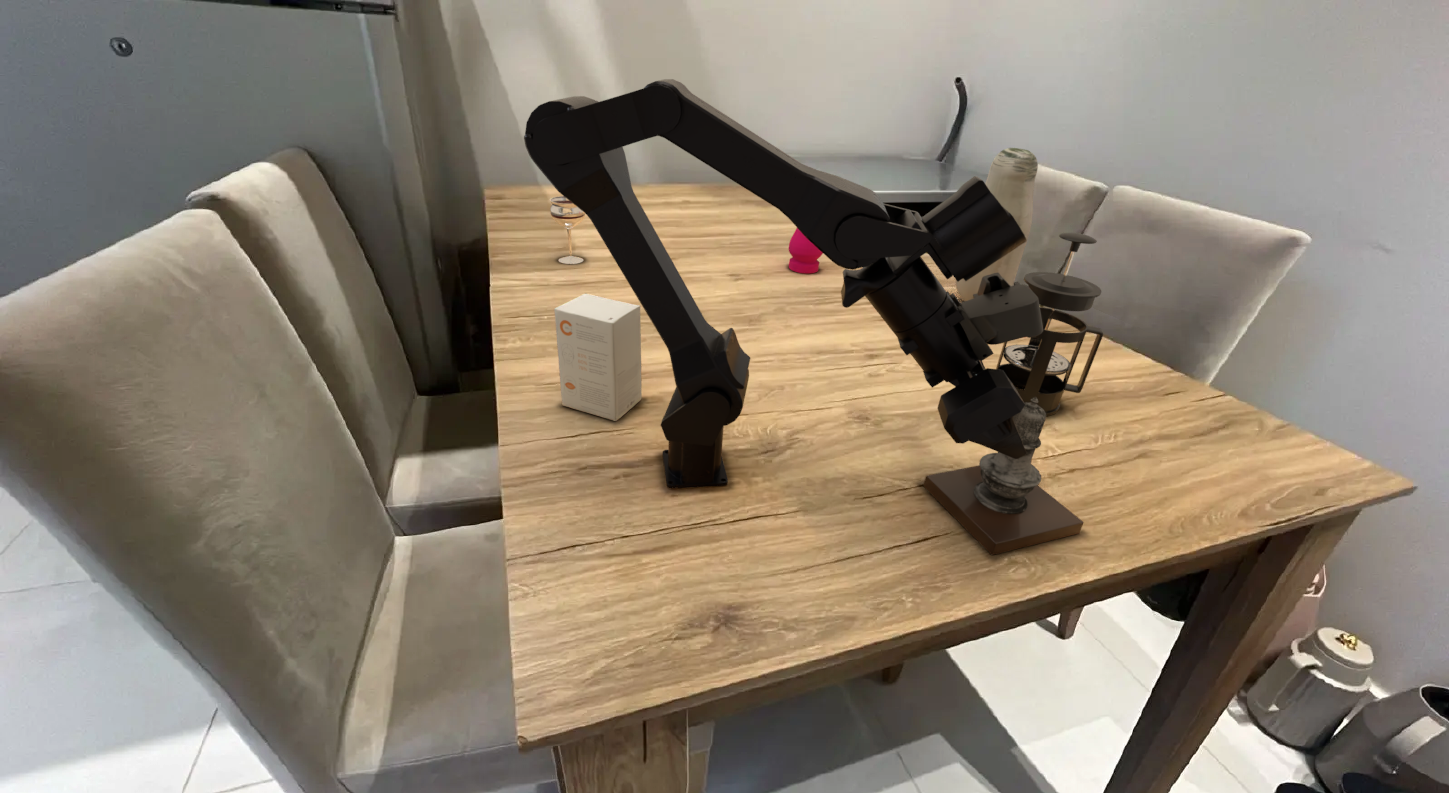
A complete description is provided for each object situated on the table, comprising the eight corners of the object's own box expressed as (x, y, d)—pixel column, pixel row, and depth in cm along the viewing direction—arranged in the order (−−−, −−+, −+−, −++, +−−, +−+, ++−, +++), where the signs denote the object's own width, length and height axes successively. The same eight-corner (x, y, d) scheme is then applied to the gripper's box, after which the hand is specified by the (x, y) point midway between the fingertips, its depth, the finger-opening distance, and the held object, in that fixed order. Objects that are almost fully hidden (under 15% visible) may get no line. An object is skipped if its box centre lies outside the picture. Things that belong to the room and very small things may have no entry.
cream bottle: (1016, 311, 118) (1065, 153, 104) (973, 316, 114) (1018, 153, 101) (980, 293, 126) (1021, 144, 112) (938, 297, 122) (975, 144, 108)
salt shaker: (1004, 522, 62) (1042, 418, 56) (958, 488, 66) (989, 388, 60) (1042, 506, 64) (1083, 405, 58) (996, 474, 69) (1029, 377, 63)
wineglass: (594, 259, 129) (592, 200, 123) (571, 267, 124) (567, 205, 118) (570, 253, 132) (566, 194, 126) (546, 260, 127) (541, 199, 121)
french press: (981, 405, 85) (1033, 237, 74) (982, 376, 93) (1029, 220, 82) (1075, 426, 82) (1145, 253, 70) (1069, 394, 90) (1130, 234, 78)
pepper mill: (780, 264, 134) (790, 166, 124) (808, 262, 137) (821, 166, 127) (797, 275, 128) (810, 173, 118) (827, 273, 131) (842, 173, 121)
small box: (642, 400, 81) (642, 305, 74) (615, 423, 76) (613, 323, 69) (589, 384, 83) (584, 291, 77) (560, 405, 78) (552, 308, 72)
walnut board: (1079, 533, 63) (1084, 522, 62) (991, 555, 60) (996, 543, 59) (1003, 470, 72) (1006, 459, 71) (922, 486, 68) (925, 475, 68)
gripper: (1034, 293, 45) (1133, 440, 50) (976, 228, 61) (1055, 343, 66) (901, 376, 50) (1003, 504, 54) (879, 295, 66) (960, 399, 70)
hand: (1007, 429), depth 61 cm, fingers open, 9 cm apart
